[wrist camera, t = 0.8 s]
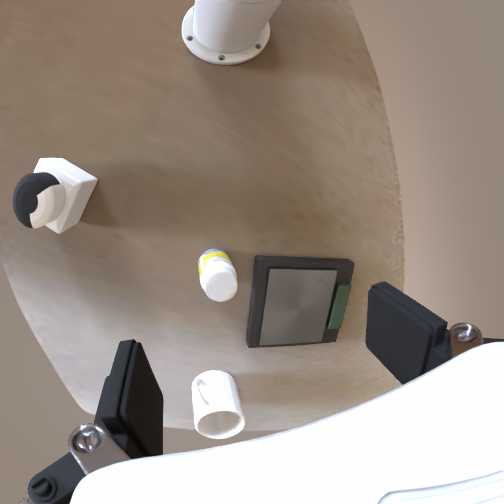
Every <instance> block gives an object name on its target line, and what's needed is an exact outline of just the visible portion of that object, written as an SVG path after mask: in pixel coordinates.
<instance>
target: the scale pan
mask: <svg viewBox="0 0 504 504" xmlns="http://www.w3.org/2000/svg"><path fill="white" fill-rule="evenodd" d="M336 275H337V270H336V269H319V268H276V267H269V268H268V275H267V283H266V290H265V298H264V305H263V313H262V320H261V327H260V334H259V342H258V343H259V345H278V344H294V343H308V342H320V341H322V337H323V333H324V329H325V325H326V321H327V316H328V312H329V308H330V303H331V299H332V294H333V290H334V285H335V280H336Z"/></svg>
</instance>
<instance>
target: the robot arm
mask: <svg viewBox="0 0 504 504" xmlns="http://www.w3.org/2000/svg"><path fill="white" fill-rule="evenodd" d="M281 2H282V0H195V5H194V6H193V7H192V8H191V9H190V10H189V11H188V12H187V14H186V15H185V17H184V20H183V23H182V36H183V40H184V42H185V44H186V46H187V48H188V49H189V50H190V51H191V52H192V53H193V54H195V55H196V56H197V57H199V58H201V59H203V60H205V61H207V62H210V63H213V64H220V65H233V64H240V63H243V62H246V61H248V60H250V59H252V58H254V57H255V56H257V55H258V54H259V53H260V52H261V51H262V50H263V49H264V47H265V46H266V44H267V42H268V40H269V37H270V24H269V20H270V18H271V17H272V15H273V14H274V12H275V11H276V9H277V8H278V6H279V5H280V3H281ZM188 40H192V41H188ZM255 47H257V48H258V49H257V48H255ZM220 59H223V60H220ZM447 323H448V322H446V321H445V320H443V319H442V318H440V317H439V316H437V315H436V314H434V313H433V312H431V311H430V310H428V309H427V308H425V307H424V306H422V305H421V304H419V303H418V302H416V301H415V300H413V299H412V298H410V297H409V296H407V295H405V294H404V293H402V292H401V291H399V290H398V289H396V288H395V287H393V286H392V285H390V284H388V283H387V282H385V281H384V282H380V283H377V284H374V285H372V287H371V289H370V290H369V292H368V311H367V327H366V346H367V348H368V349H369V350H370V351H371V352H372V353H373V354H374V355H375V356H376V357H377V358H378V359H379V360H380V362H381V363H382V364H383V365H384V366H385V367H386V368H387V369H388V370H389V371H390V372H391V373H392V374H393V375H394V376H395V377H396V378H397V379H398V380H399V381H400V383H402V386H400V387H398V388H396V389H394V390H392V391H389V392H387V393H385V394H383V395H381V396H379V397H376V398H374V399H372V400H369V401H367V402H365V403H362V404H360V405H358V406H355V407H353V408H350V409H348V410H345V411H342V412H340V413H337V414H334V415H332V416H329V417H326V418H323V419H321V420H318V421H315V422H312V423H309V424H306V425H302V426H299V427H296V428H293V429H289V430H286V431H283V432H279V433H275V434H272V435H268V436H264V437H260V438H256V439H252V440H247V441H243V442H238V443H234V444H229V445H224V446H218V447H213V448H208V449H202V450H195V451H190V452H182V453H174V454H167V455H163V395H162V392H161V390H160V388H159V385H158V383H157V381H156V378H155V376H154V374H153V372H152V369H151V367H150V364H149V362H148V360H147V357H146V355H145V352H144V350H143V347H142V345H141V343H140V342H138V343H136V341H135V340H134V339H132V340H126V341H120V343H119V346H118V349H117V352H116V356H115V359H114V362H113V366H112V369H111V373H110V376H107V377H106V379H105V382H104V386H103V390H102V393H101V397H100V400H99V404H98V408H97V412H96V416H95V420H94V424H91V423H89V424H84V425H81V426H79V427H77V428H76V429H75V430H74V431H73V432H72V433H71V435H70V437H69V439H68V446H69V449H70V452H69V453H67V454H66V455H65V456H63V457H62V458H60V459H59V460H57V461H56V462H54V463H53V464H51V465H50V466H48V467H47V468H45V469H44V470H43V471H41V472H39V473H38V474H37V475H35V476H34V477H33V478H32V479H31V481H30V482H29V485H28V494H29V498H28V499H27V500H26V499H25V498H23V499H22V500H21V501H20V503H19V504H504V339H491V338H483V337H482V334H481V332H480V330H479V329H478V328H477V327H475V326H474V325H472V324H468V323H458V324H455V325H453V326H452V327H451V328H450V330H448V329H446V328H447Z"/></svg>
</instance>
